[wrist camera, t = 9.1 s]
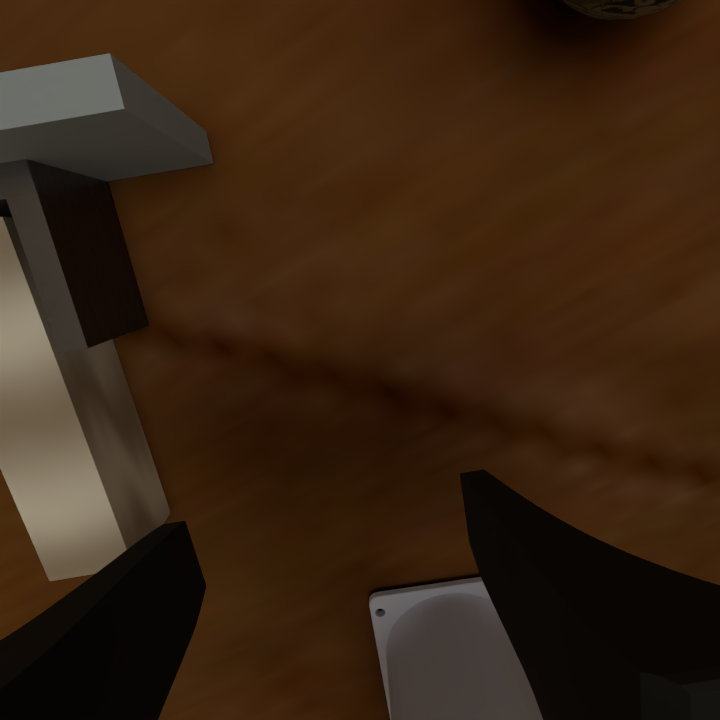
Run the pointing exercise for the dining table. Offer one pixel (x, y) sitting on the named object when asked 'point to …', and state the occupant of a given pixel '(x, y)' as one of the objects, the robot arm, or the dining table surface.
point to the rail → (68, 435)
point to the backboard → (95, 121)
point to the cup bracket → (73, 252)
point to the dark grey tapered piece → (613, 8)
